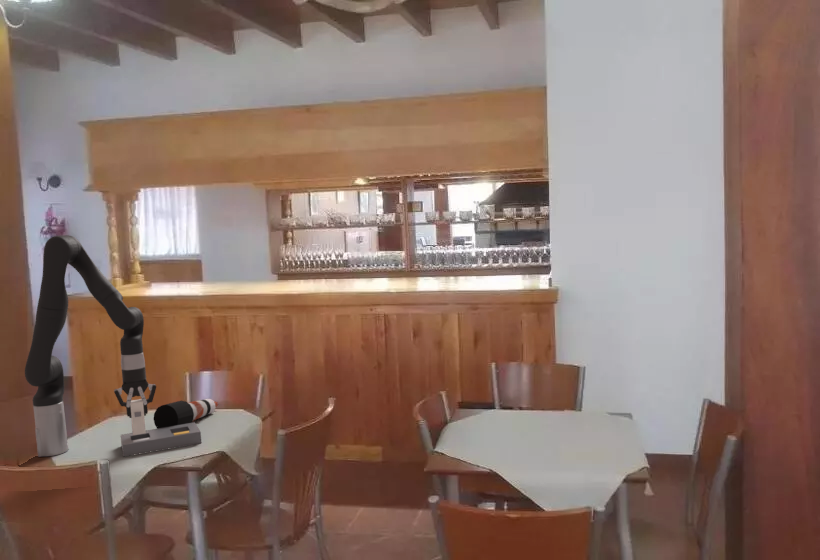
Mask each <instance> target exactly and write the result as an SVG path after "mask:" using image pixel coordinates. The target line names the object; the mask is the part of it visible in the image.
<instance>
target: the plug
mask: <svg viewBox="0 0 820 560" xmlns="http://www.w3.org/2000/svg"><path fill="white" fill-rule="evenodd" d="M130 407H131V417H132V418H130V419H131V431H132V432H131V433H133V435H138V434H145V433H146V430H147V429H146V422H145V420H146V419H145V416H144V407H143V401H142V398H139V399H132V400H131V403H130Z"/></svg>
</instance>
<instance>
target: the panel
mask: <svg viewBox="0 0 820 560" xmlns="http://www.w3.org/2000/svg"><path fill="white" fill-rule="evenodd" d="M145 430H146V433H145V434H138V435H133V432H129V433H123V434H120V442H121V450H122V455H123V456H122V457H124V456H127V457H130V456H129V455H132V456H135V455H134V454H138V455H140V454H139V453H143V454H146V453H145V452H149V453H151V452H150V451H155V452H157V451H156V450H160V451H163V450H162V449H166V450H169V449H168V448H171V449H175V448H174V447H177V448H180V447H179V446H182V447H187V446H186V445H188V446H192V445H193V446H194V445H197V444H198V445H199V444H202V443H203V442H202V434H201V433H202V432H201V430H200V428H199V426H198V425H197V423H196V422H195V421H193V422H192V423H188V424H182V425H176V426H170V427H164V428H158V429H157V428H153V429H145Z"/></svg>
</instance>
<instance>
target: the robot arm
mask: <svg viewBox="0 0 820 560" xmlns="http://www.w3.org/2000/svg"><path fill="white" fill-rule="evenodd" d="M42 259H43V261H42V277H41V284H40V290H39V296H38V302H37V306H36V313H35V323H34V328H33V334H32V340H31V344H30V348H29V351H28V356H27V360H26V363H25V368H24V377H25V380H26V381H27V383H28V384H29V385H31V386H33V387H37V390H36V393H35V394H34V395H33V397H32V407H33V416H34V424H35V430H34V431H35V439H36V450H37V457H39V458H40V457H51V456H52V457H53V456H58V455H61V454H64V453H67V451H69V443H68V434H67V433H68V432H67V426H66V425H67V424H66V415H65V407H64V393H65V379H64V378H65V377H64V375H65V374H64V367H63V364H62V362H61V360H60V359H59V357H57V356H54V355H53V350H54V346H55V344H56V342H57V340H58V338H59V336H60V334H61V332H62V331H63V329H64V327H65V324H66V321H67V316H68V309H69V296H68V292H67V287H66V282H65V279H66V272H67V268H68V265H70V266H71V268H73V269H75V271H76V272H77V273H78V274H79V275H80V277H81V278H82V279H83V282H84V284H85V286H86V288H87V289H88V292H89V293H90V294H91V296H92V297H93V298H94V299H95V300H96V301H97V302H98V303H99V304H100V305H101V306H102V307H103V308H104V310H105V311H106V313H107V315H108V317H109V318H110V320H111V321H112V323H113V324H114V325H115V326H116V327H117V328H119V329H120V330H123V335H122V337H121V338H120V341H119V342H120V343H119V346H120V347H119V348H120V367H121V375H122V376H121V377H122V379H121V380H122V385H121V387H119V388H114V389H113V392H114V395H115V397H116V398H117V401H118V403H119V405H120V407H124V408H126V416H127V417H129V419H131V418H132V417H131V407H130V403H131V401H132V400H133V399H132V398H134V397H140V399H142V401H143V407H144V417H146V416H147V415H148V411H149V410H148V404H150V403H152V402H153V401H154V397H155V393H156V390H157V385H156V384H155V383H153V384H152V383H149V382H148V380H147V372H146V361H145V356H144V347H143V335H144V325H145V323H144V322H145V320H144V314H143V312H142V311H141V309H140V308H139V307H136V306H130V307H128V306H127V305H126V304H125V302H124V301H123V299H124V297H123V294H122V293H121V292H120V291H119V290H118V289H117V288H116V286H114V285H113V283H112V282H110V280H109V279H108V278H107V277H106V276H105V275H104V274H103V273H102V272H101V271H100V269H99V267H98V266H97V265H96V263H95V262H94V261H93V259H92V258H91V257H90V255H89V254H88V253H87V251H86V250H85V247H84V246H83V245H82V243H81V242H80V241H79V240H78V239H77V237H75V236H73V235H69V234H68V235H67V234H66V235H63V234H62V235H55V236H52V237H50V238H49V239H48V240H47V241H46V242H45V244H44V247H43V258H42ZM147 388H148V390H149V391H150V392H149V395H148V398H147V399H146V396H145V392H146V390H147ZM122 392H124V393H125V394H126V395H127V396H126V401H124V399H123V397H122V396H121V395H122V394H123V393H122Z"/></svg>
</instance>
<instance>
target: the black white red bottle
mask: <svg viewBox="0 0 820 560" xmlns="http://www.w3.org/2000/svg"><path fill="white" fill-rule="evenodd" d="M218 405H219V404H218V401H214V400H213V399H211V398H206V399H201V400H194V401H189V402H188V401H185V400H177V401H173V402H170V403H166V404H162V405H159V406H158V407H157V408H156V409H155V412H154V413H153V423H154V426H155V427H156V428H155V429H158V428H164V427H170V426H176V425H182V424H188V423H193V422H195V421H197V420H199V419H200V418H203V417H206V416H208V415H210V414H213V413H214V412H215V410H216V408H217V407H218Z"/></svg>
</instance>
